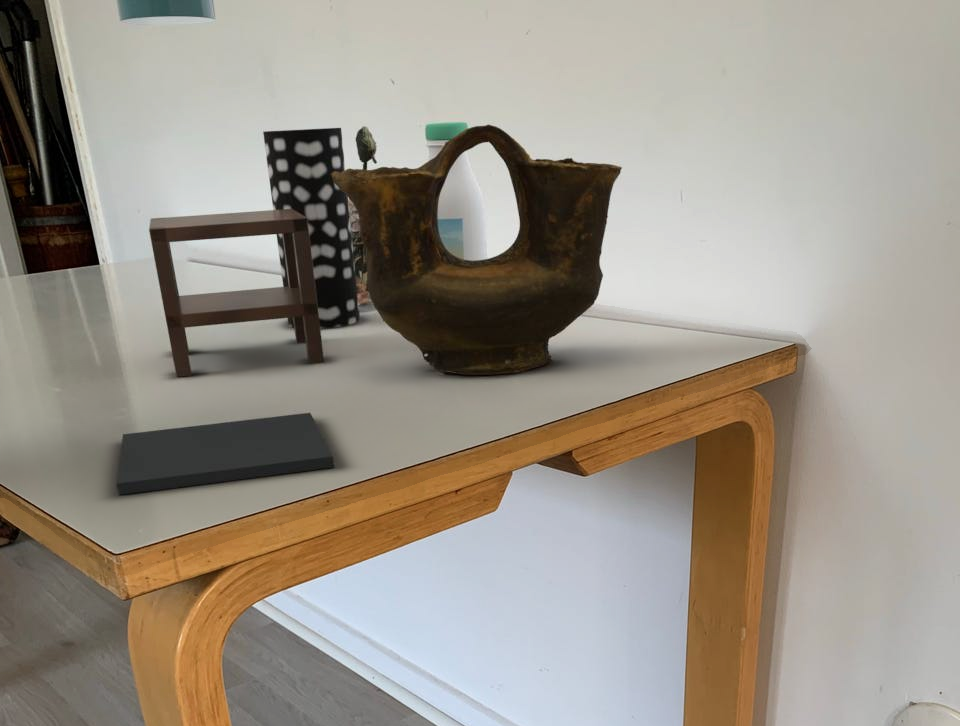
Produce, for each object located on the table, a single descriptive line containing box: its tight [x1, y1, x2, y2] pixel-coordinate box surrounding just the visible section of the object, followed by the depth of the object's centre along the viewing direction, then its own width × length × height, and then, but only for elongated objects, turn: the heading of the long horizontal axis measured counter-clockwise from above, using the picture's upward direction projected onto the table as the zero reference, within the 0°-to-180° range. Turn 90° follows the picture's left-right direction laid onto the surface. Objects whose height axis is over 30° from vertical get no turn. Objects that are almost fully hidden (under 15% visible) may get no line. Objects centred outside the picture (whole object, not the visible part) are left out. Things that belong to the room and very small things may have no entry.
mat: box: [116, 412, 335, 496], centre depth 70 cm, size 14×12×1 cm
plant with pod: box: [348, 125, 378, 308], centre depth 120 cm, size 8×11×20 cm
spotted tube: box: [262, 127, 361, 330], centre depth 111 cm, size 8×8×20 cm
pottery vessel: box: [331, 124, 623, 376], centre depth 87 cm, size 25×11×20 cm, turn 101°
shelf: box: [148, 209, 325, 378], centre depth 97 cm, size 14×12×13 cm
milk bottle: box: [424, 121, 488, 261], centre depth 110 cm, size 8×8×20 cm
